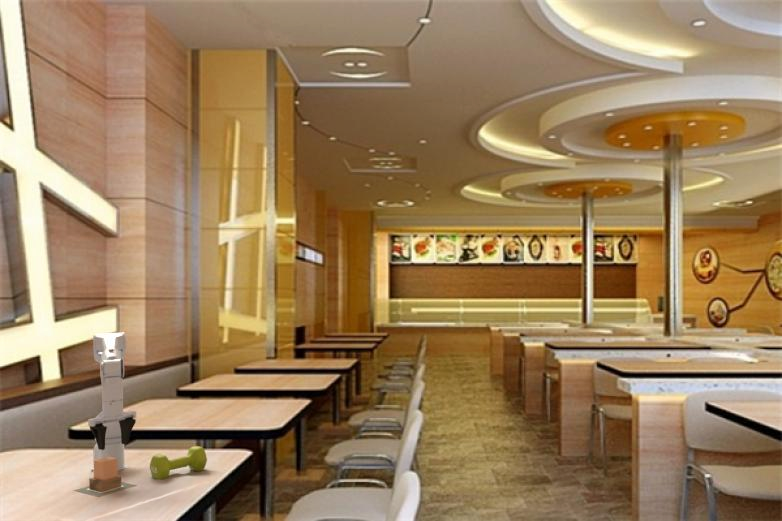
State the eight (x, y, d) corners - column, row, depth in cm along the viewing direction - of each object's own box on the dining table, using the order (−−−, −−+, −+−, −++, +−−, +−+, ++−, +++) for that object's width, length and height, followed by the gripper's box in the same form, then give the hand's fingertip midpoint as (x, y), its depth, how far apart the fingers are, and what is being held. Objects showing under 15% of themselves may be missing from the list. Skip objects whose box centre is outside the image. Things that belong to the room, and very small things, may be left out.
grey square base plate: (73, 492, 191) (73, 490, 191) (111, 481, 201) (111, 479, 201) (98, 499, 184) (98, 496, 184) (136, 487, 194) (136, 485, 194)
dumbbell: (160, 483, 198) (160, 458, 198) (147, 478, 203) (146, 454, 204) (209, 470, 210) (209, 447, 210) (196, 466, 215) (195, 443, 216)
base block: (89, 489, 192) (89, 478, 192) (108, 483, 197) (108, 473, 197) (101, 492, 188) (101, 481, 188) (121, 486, 193) (121, 475, 193)
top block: (94, 478, 192) (93, 460, 192) (108, 474, 196) (108, 456, 196) (103, 480, 189) (103, 462, 189) (117, 476, 193) (117, 458, 193)
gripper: (98, 405, 193) (98, 453, 192) (142, 397, 205) (143, 442, 204) (83, 403, 197) (84, 450, 196) (128, 395, 209) (128, 440, 208)
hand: (113, 446), depth 200 cm, fingers open, 7 cm apart
